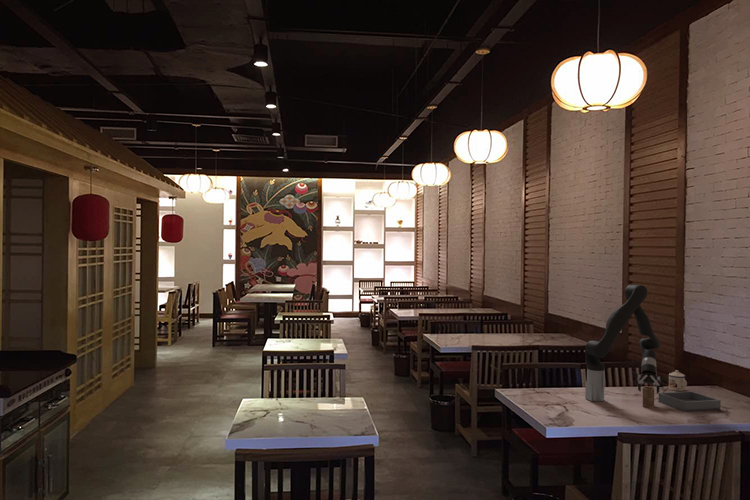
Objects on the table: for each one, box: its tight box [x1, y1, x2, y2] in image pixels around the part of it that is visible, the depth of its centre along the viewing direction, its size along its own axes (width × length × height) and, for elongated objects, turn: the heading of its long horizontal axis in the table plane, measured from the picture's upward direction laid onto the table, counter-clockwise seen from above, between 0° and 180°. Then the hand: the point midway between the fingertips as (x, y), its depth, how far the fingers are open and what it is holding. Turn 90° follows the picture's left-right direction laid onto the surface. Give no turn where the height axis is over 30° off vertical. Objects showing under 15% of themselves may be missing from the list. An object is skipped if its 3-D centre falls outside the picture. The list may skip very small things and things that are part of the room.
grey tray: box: [658, 390, 722, 413], centre depth 309 cm, size 22×20×5 cm
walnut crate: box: [642, 386, 655, 409], centre depth 307 cm, size 6×6×10 cm
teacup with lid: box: [668, 369, 688, 392], centre depth 344 cm, size 12×9×12 cm
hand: (648, 391), depth 308 cm, fingers open, 8 cm apart
